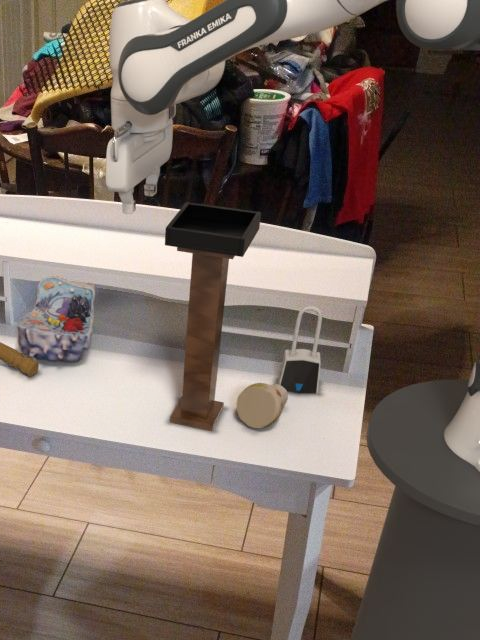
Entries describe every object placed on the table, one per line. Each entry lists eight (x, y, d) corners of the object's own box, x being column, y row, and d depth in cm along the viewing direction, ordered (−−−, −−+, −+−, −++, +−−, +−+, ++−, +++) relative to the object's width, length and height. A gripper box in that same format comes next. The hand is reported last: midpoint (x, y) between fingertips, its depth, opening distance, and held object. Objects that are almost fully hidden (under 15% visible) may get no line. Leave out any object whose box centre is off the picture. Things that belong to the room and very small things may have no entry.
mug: (298, 407, 141) (305, 378, 132) (262, 449, 139) (267, 423, 130) (261, 382, 143) (265, 352, 134) (225, 424, 141) (227, 397, 132)
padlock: (277, 391, 144) (290, 310, 134) (277, 378, 147) (290, 298, 137) (317, 394, 143) (333, 313, 134) (316, 381, 146) (332, 301, 137)
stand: (226, 407, 141) (247, 230, 121) (214, 433, 135) (233, 252, 115) (180, 397, 143) (193, 222, 123) (166, 423, 137) (177, 244, 118)
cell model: (101, 272, 157) (92, 315, 141) (96, 326, 163) (88, 374, 147) (30, 265, 157) (14, 308, 141) (29, 320, 163) (13, 367, 147)
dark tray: (259, 229, 121) (261, 212, 120) (242, 257, 114) (245, 239, 113) (185, 218, 124) (186, 201, 123) (164, 245, 117) (165, 227, 116)
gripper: (132, 132, 126) (133, 225, 134) (179, 101, 141) (178, 187, 149) (93, 130, 128) (97, 221, 137) (144, 99, 143) (145, 184, 151)
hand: (140, 203), depth 143 cm, fingers open, 8 cm apart
